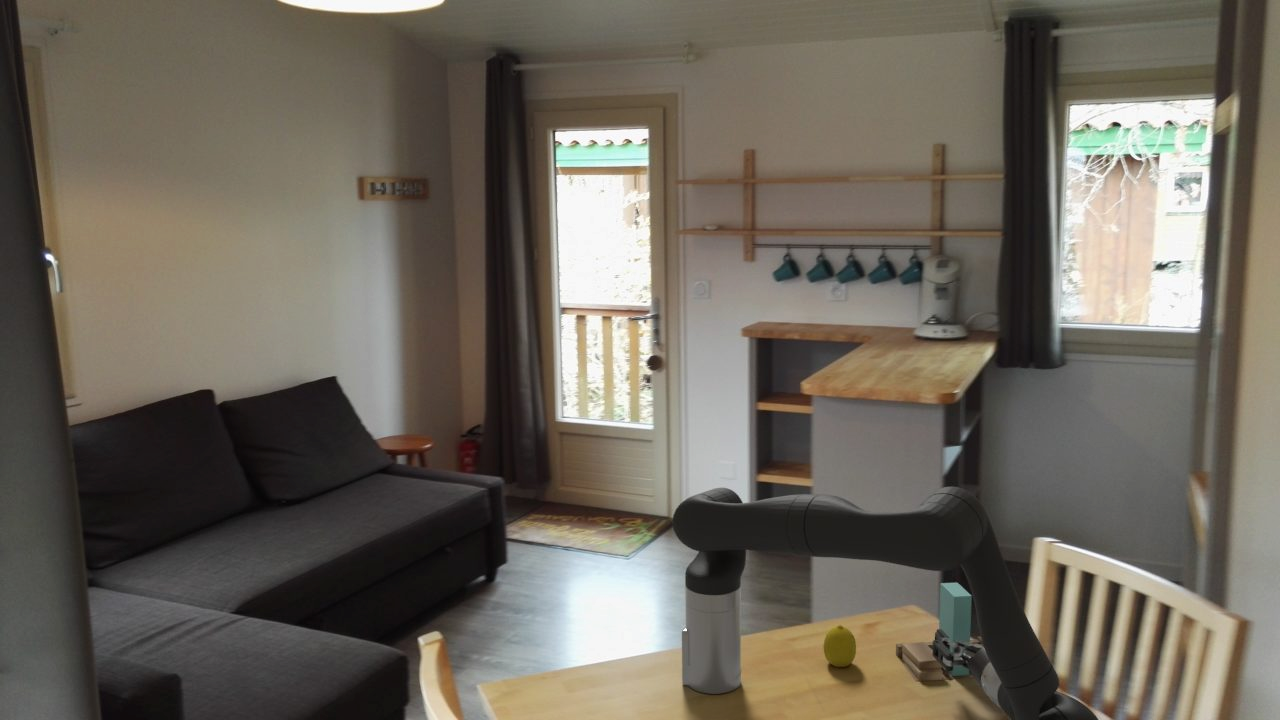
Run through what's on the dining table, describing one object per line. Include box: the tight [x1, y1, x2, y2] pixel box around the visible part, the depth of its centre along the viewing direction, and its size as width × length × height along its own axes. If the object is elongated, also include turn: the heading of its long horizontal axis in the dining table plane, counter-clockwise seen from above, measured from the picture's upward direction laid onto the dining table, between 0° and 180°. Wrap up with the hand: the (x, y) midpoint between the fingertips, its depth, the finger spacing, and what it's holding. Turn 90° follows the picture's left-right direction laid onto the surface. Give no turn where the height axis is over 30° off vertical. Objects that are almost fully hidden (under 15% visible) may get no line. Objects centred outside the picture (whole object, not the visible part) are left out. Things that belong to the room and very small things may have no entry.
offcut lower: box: [902, 654, 943, 682], centre depth 171 cm, size 4×8×2 cm, turn 5°
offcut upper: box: [901, 641, 942, 670], centre depth 171 cm, size 4×7×2 cm, turn 9°
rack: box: [895, 636, 983, 682], centre depth 173 cm, size 16×10×4 cm, turn 95°
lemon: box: [823, 624, 857, 668], centre depth 174 cm, size 6×6×8 cm
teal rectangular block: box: [938, 582, 973, 676], centre depth 171 cm, size 3×6×14 cm, turn 5°
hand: (963, 633), depth 167 cm, fingers open, 8 cm apart
